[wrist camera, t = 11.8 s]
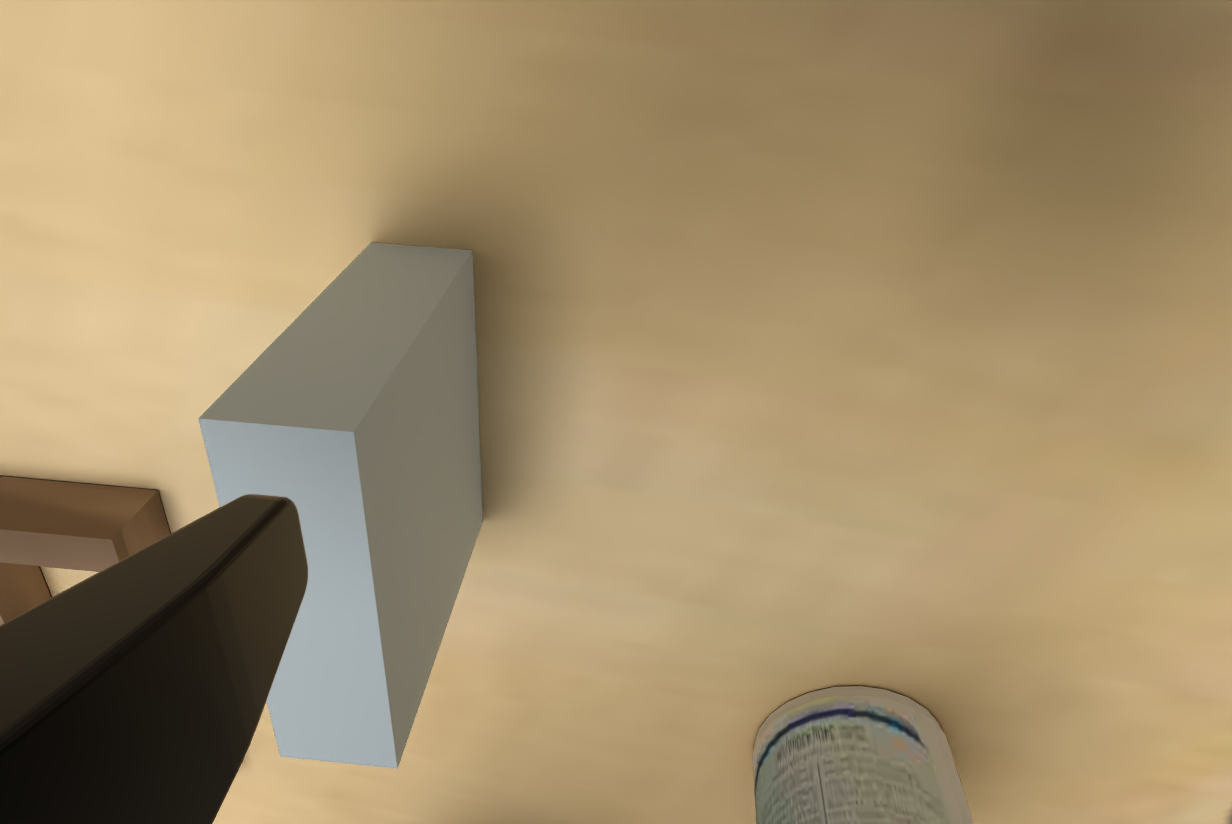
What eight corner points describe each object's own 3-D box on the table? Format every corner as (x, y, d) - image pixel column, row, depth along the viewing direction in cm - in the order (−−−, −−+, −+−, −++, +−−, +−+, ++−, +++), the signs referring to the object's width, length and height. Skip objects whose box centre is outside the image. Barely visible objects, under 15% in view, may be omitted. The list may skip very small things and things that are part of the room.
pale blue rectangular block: (483, 520, 24) (397, 768, 17) (399, 512, 24) (280, 756, 17) (473, 250, 19) (353, 432, 13) (371, 241, 19) (198, 417, 13)
